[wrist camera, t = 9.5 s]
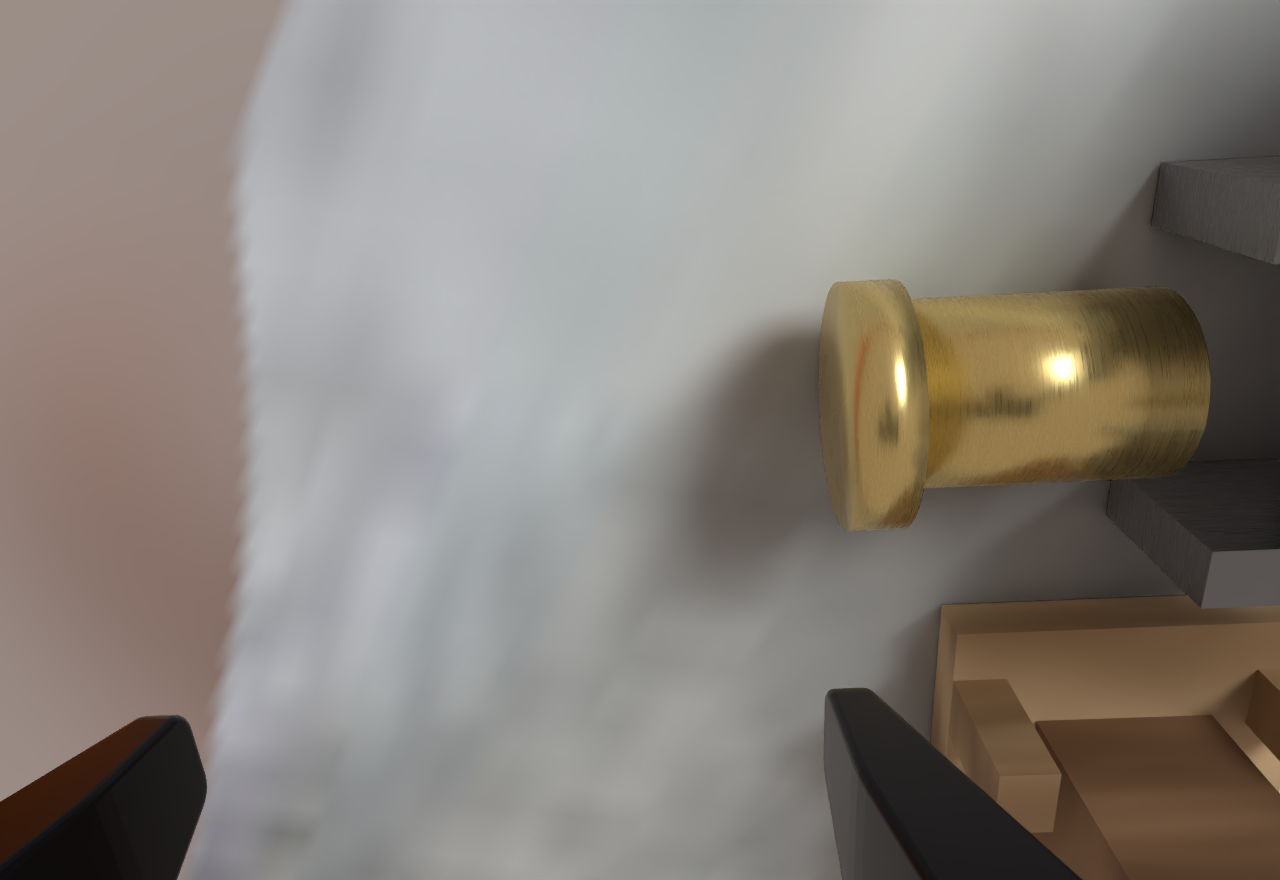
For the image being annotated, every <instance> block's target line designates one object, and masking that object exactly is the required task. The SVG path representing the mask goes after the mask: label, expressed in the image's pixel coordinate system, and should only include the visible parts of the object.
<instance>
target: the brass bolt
mask: <svg viewBox="0 0 1280 880" xmlns="http://www.w3.org/2000/svg"><path fill="white" fill-rule="evenodd" d="M1210 391H1211V378H1210V365H1209V358H1208V352H1207V347H1206V343H1205V339H1204V336H1203V333H1202V330H1201V327H1200V324H1199V322H1198V320H1197V318H1196V316H1195V314H1194V313H1193V311H1192V309H1191V308H1190V306H1189V305H1188V304H1187V303H1186V301H1185V300H1184V299H1183V298H1182V297H1181V296H1180V295H1178V294H1177V293H1176V292H1174V291H1172V290H1171V289H1168V288H1165V287H1158V286H1154V287H1135V288H1115V289H1096V290H1077V291H1057V292H1038V293H1019V294H999V295H980V296H961V297H941V298H922V299H911V298H910V296H909V294H908V292H907V290H906V289H905V287H904V286H903V285H902V284H901V282H899V281H898V280H895V279H887V280H868V281H849V282H836V283H834V284H833V286H832V287H831V289H830V291H829V293H828V296H827V299H826V303H825V307H824V313H823V319H822V326H821V336H820V349H819V414H820V430H821V442H822V451H823V459H824V467H825V473H826V479H827V485H828V490H829V494H830V498H831V502H832V506H833V509H834V512H835V515H836V518H837V520H838V522H839V524H840V525H841V527H842V528H843V529H844V530H845V531H862V530H886V529H904V528H907V527H908V526H909V525H910V524H911V523H912V522H913V520H914V518H915V517H916V514H917V512H918V509H919V506H920V503H921V500H922V496H923V491H924V488H942V487H964V486H987V485H1009V484H1031V483H1054V482H1076V481H1099V480H1121V479H1144V478H1165V477H1169V476H1172V475H1174V474H1175V473H1177V472H1179V471H1180V470H1181V469H1182V468H1183V467H1185V466H1186V464H1187V463H1188V462H1189V461H1190V460H1191V458H1192V456H1193V455H1194V453H1195V452H1196V450H1197V448H1198V445H1199V443H1200V441H1201V438H1202V435H1203V433H1204V430H1205V426H1206V422H1207V417H1208V411H1209V405H1210Z"/></svg>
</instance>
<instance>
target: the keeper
mask: <svg viewBox="0 0 1280 880" xmlns="http://www.w3.org/2000/svg"><path fill="white" fill-rule="evenodd" d="M1151 226H1154V227H1157V228H1160V229H1163V230H1166V231H1169V232H1172V233H1176V234H1179V235H1182V236H1185V237H1188V238H1191V239H1195V240H1198V241H1201V242H1204V243H1207V244H1210V245H1214V246H1217V247H1220V248H1223V249H1226V250H1229V251H1233V252H1236V253H1239V254H1242V255H1245V256H1248V257H1251V258H1255V259H1258V260H1261V261H1264V262H1267V263H1270V264H1280V156H1268V157H1251V158H1233V159H1215V160H1197V161H1180V162H1162V163H1161V166H1160V172H1159V179H1158V185H1157V192H1156V198H1155V204H1154V211H1153V217H1152V224H1151ZM1106 515H1107V516H1108V517H1109V518H1110V519H1111V520H1112V521H1113V522H1114V523H1115V524H1116V525H1117V526H1118V527H1119V528H1120V529H1121V530H1122V531H1123V532H1124V533H1125V534H1126V535H1127V536H1128V537H1129V538H1130V539H1131V540H1132V541H1133V542H1134V543H1135V544H1136V545H1137V546H1138V547H1139V548H1140V549H1141V550H1142V551H1143V552H1144V553H1145V554H1146V555H1147V556H1148V557H1149V558H1150V559H1151V560H1152V561H1153V562H1154V563H1155V564H1156V565H1157V566H1158V567H1159V568H1160V569H1161V570H1162V571H1163V572H1164V573H1165V574H1166V575H1167V576H1168V577H1169V578H1170V579H1171V580H1172V581H1173V582H1174V583H1175V584H1176V585H1178V586H1179V587H1180V588H1181V589H1182V590H1183V591H1184V592H1185V593H1186V594H1187V595H1188V596H1189V597H1190V598H1191V599H1192V600H1193V601H1194V602H1195V603H1196V604H1197V605H1198V606H1199V607H1200V608H1201V609H1204V608H1229V607H1255V606H1280V460H1278V459H1260V460H1238V461H1216V462H1194V463H1187V464H1186V466H1185V467H1183V468H1182V469H1181V470H1180V471H1179V472H1177V473H1175V474H1174V475H1172V476H1169V477H1165V478H1144V479H1121V480H1111V486H1110V493H1109V499H1108V505H1107V512H1106Z"/></svg>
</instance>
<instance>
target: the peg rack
mask: <svg viewBox="0 0 1280 880" xmlns="http://www.w3.org/2000/svg"><path fill="white" fill-rule="evenodd" d="M1195 715H1212V716H1213V717H1214V718H1215V719H1216V720H1217V721H1218V723H1219V724H1220V725H1221V726H1222V727H1223V728H1224V730H1225V731H1226V732H1227V733H1228V734H1229V735H1230V737H1231V738H1232V739H1233V740H1234V741H1235V742H1236V744H1237V745H1238V746H1239V747H1240V748H1241V749H1242V750H1243V752H1244V753H1245V754H1246V755H1247V756H1248V757H1249V759H1250V760H1251V761H1252V762H1253V763H1254V764H1255V766H1256V767H1257V768H1258V769H1259V770H1260V771H1261V772H1262V774H1263V775H1264V776H1265V777H1266V778H1267V779H1268V781H1269V782H1270V783H1271V784H1272V785H1273V786H1274V788H1275V789H1276V790H1277V791H1278V792H1279V789H1280V606H1255V607H1229V608H1204V609H1201V608H1200V607H1199V606H1198V605H1197V604H1196V603H1195V602H1194V601H1193V600H1192V599H1191V598H1190V597H1189V596H1188V595H1179V596H1154V597H1129V598H1104V599H1079V600H1054V601H1029V602H1004V603H979V604H954V605H942V606H941V618H940V630H939V642H938V655H937V667H936V679H935V691H934V703H933V715H932V728H931V740H930V743H931V744H932V745H933V746H934V747H935V748H936V749H937V750H939V751H940V752H941V753H942V754H943V755H944V756H945V757H946V758H947V759H949V760H950V761H951V762H952V763H953V764H954V765H955V766H956V767H958V768H959V769H960V770H961V771H962V772H963V773H964V774H965V775H966V776H968V777H969V778H970V779H971V780H972V781H973V782H974V783H975V784H977V785H978V786H979V787H980V788H981V789H982V790H983V791H984V792H985V793H987V794H988V795H989V796H990V797H991V798H992V799H993V800H994V801H995V802H997V803H998V804H999V805H1000V806H1001V807H1002V808H1003V809H1004V810H1006V811H1007V812H1008V813H1009V814H1010V815H1011V816H1012V817H1013V818H1014V819H1016V820H1017V821H1018V822H1019V823H1020V824H1021V825H1022V826H1023V827H1025V828H1026V829H1027V830H1028V831H1029V832H1030V833H1038V832H1053V827H1054V821H1055V814H1056V808H1057V801H1058V795H1059V788H1060V782H1061V775H1062V774H1061V772H1060V770H1059V769H1058V767H1057V765H1056V764H1055V762H1054V760H1053V758H1052V757H1051V755H1050V753H1049V751H1048V750H1047V748H1046V746H1045V744H1044V743H1043V741H1042V739H1041V738H1040V736H1039V734H1038V732H1037V731H1036V729H1035V726H1036V721H1047V720H1076V719H1106V718H1136V717H1165V716H1195Z"/></svg>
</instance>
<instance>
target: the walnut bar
mask: <svg viewBox="0 0 1280 880" xmlns="http://www.w3.org/2000/svg"><path fill="white" fill-rule="evenodd" d="M1035 729H1036V731H1037V732H1038V734H1039V736H1040V738H1041V739H1042V741H1043V743H1044V744H1045V746H1046V748H1047V750H1048V751H1049V753H1050V755H1051V757H1052V758H1053V760H1054V762H1055V764H1056V765H1057V767H1058V769H1059V770H1060V772H1061V774H1062V775H1061V782H1060V788H1059V795H1058V801H1057V808H1056V814H1055V821H1054V827H1053V832H1038V833H1031V834H1032V835H1033V836H1035V837H1036V838H1037V839H1038V840H1039V841H1040V842H1041V843H1042V844H1043V845H1045V846H1046V847H1047V848H1048V849H1049V850H1050V851H1051V852H1052V853H1054V854H1055V855H1056V856H1057V857H1058V858H1059V859H1060V860H1061V861H1062V862H1064V863H1065V864H1066V865H1067V866H1068V867H1069V868H1070V869H1071V870H1073V871H1074V872H1075V873H1076V874H1077V875H1078V876H1079V877H1080V878H1081V879H1083V880H1280V793H1279V792H1278V791H1277V790H1276V789H1275V788H1274V786H1273V785H1272V784H1271V783H1270V782H1269V781H1268V779H1267V778H1266V777H1265V776H1264V775H1263V774H1262V772H1261V771H1260V770H1259V769H1258V768H1257V767H1256V766H1255V764H1254V763H1253V762H1252V761H1251V760H1250V759H1249V757H1248V756H1247V755H1246V754H1245V753H1244V752H1243V750H1242V749H1241V748H1240V747H1239V746H1238V745H1237V744H1236V742H1235V741H1234V740H1233V739H1232V738H1231V737H1230V735H1229V734H1228V733H1227V732H1226V731H1225V730H1224V728H1223V727H1222V726H1221V725H1220V724H1219V723H1218V721H1217V720H1216V719H1215V718H1214V717H1213V716H1212V715H1195V716H1165V717H1136V718H1106V719H1076V720H1047V721H1036V726H1035Z"/></svg>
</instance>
